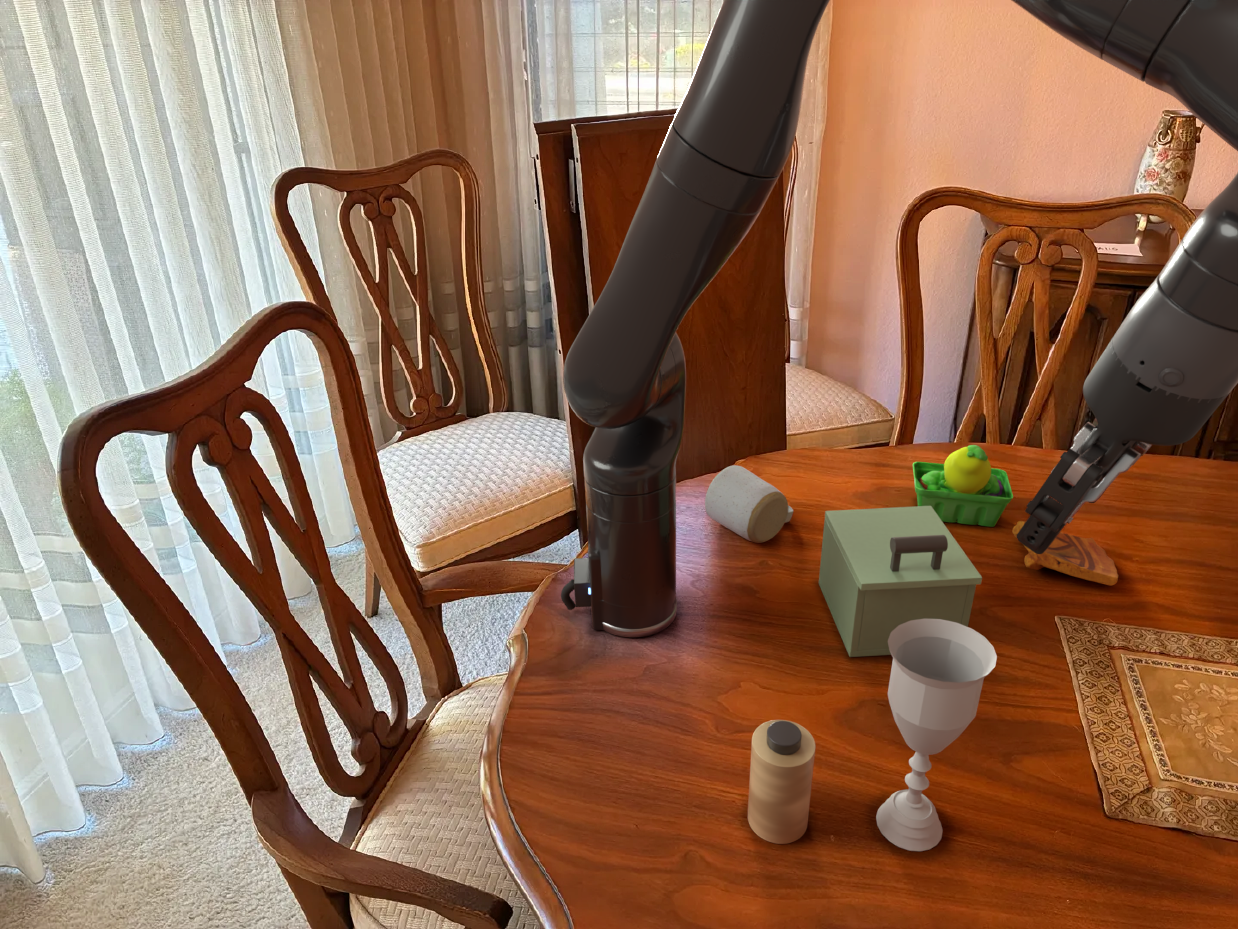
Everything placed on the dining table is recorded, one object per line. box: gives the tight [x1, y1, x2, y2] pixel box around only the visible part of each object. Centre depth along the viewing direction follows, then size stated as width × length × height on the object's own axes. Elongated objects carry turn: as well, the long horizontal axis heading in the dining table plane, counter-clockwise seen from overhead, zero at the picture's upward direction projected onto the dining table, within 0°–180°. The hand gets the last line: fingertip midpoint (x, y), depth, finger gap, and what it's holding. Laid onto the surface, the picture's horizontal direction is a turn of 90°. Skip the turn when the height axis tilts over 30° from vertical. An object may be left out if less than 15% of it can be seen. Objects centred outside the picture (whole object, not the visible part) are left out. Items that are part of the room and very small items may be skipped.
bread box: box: [818, 517, 977, 658], centre depth 90 cm, size 13×12×9 cm
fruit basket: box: [912, 444, 1014, 528], centre depth 106 cm, size 11×9×11 cm
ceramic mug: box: [704, 464, 794, 544], centre depth 107 cm, size 11×8×8 cm
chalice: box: [875, 619, 998, 852], centre depth 64 cm, size 7×7×18 cm
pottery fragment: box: [1011, 520, 1119, 586], centre depth 98 cm, size 10×5×10 cm
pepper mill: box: [747, 719, 817, 845], centre depth 67 cm, size 5×5×10 cm
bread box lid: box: [824, 505, 983, 591], centre depth 86 cm, size 13×12×4 cm
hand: (1056, 519), depth 67 cm, fingers open, 8 cm apart
